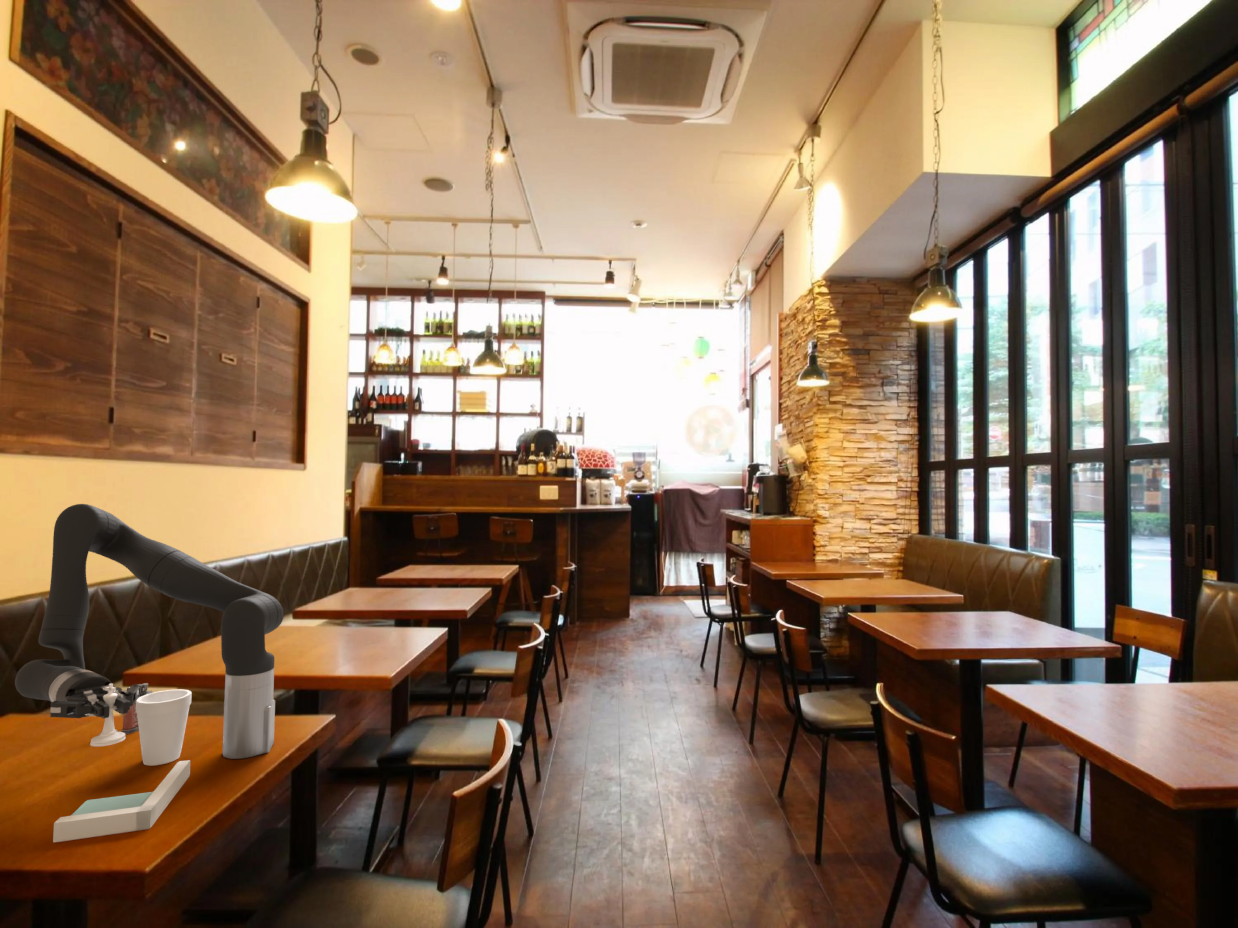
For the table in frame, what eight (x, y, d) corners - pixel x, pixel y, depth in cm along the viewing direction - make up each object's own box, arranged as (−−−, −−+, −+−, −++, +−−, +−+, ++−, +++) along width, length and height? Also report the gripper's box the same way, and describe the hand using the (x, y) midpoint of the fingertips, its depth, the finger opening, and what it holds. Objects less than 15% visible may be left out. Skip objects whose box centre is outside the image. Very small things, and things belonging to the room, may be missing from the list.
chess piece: (105, 747, 108) (108, 688, 109) (82, 745, 109) (85, 686, 110) (132, 737, 113) (135, 680, 114) (110, 734, 114) (113, 678, 115)
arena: (189, 775, 124) (190, 759, 124) (150, 828, 104) (150, 809, 104) (103, 785, 119) (104, 769, 119) (45, 843, 99) (46, 824, 100)
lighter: (140, 721, 153) (142, 680, 154) (155, 721, 153) (156, 679, 154) (117, 734, 145) (119, 690, 146) (132, 733, 145) (134, 690, 146)
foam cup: (141, 753, 134) (144, 692, 135) (193, 747, 138) (195, 687, 138) (127, 771, 125) (130, 705, 126) (182, 764, 129) (185, 699, 130)
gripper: (33, 680, 114) (66, 698, 104) (125, 663, 125) (163, 678, 116) (31, 722, 113) (64, 744, 104) (123, 702, 125) (161, 719, 115)
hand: (116, 709), depth 110 cm, fingers closed on chess piece
